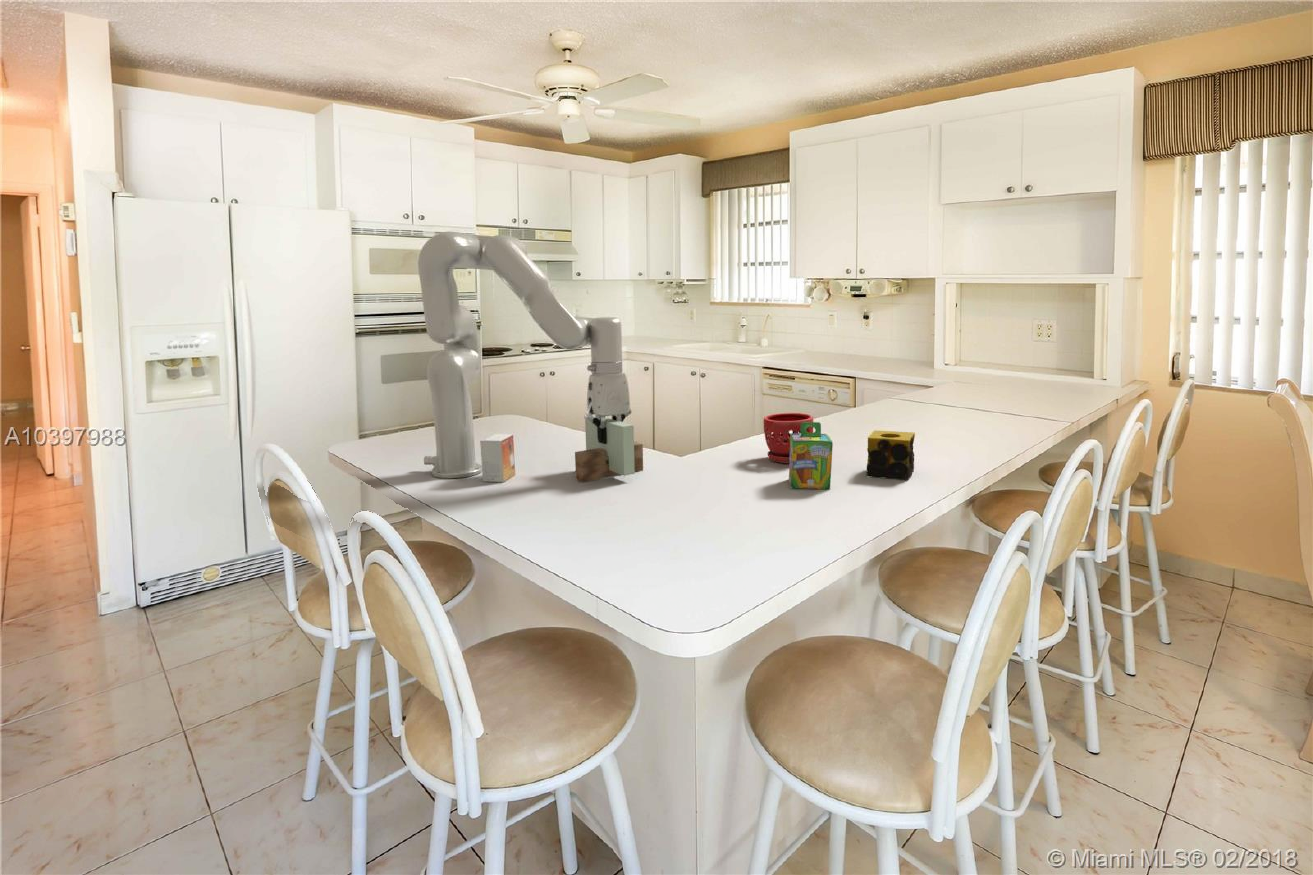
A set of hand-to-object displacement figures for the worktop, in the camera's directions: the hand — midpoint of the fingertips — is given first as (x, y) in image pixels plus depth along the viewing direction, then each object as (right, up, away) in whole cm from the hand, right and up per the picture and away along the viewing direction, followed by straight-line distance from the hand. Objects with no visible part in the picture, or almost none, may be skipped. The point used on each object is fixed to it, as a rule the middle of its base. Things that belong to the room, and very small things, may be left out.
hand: (608, 441), depth 184 cm
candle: (+70, -8, -1) cm, 70 cm away
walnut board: (0, -8, +2) cm, 9 cm away
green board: (0, -7, +1) cm, 7 cm away
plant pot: (+47, -5, +15) cm, 50 cm away
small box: (-27, -9, +1) cm, 29 cm away
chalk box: (+48, -10, -9) cm, 50 cm away
